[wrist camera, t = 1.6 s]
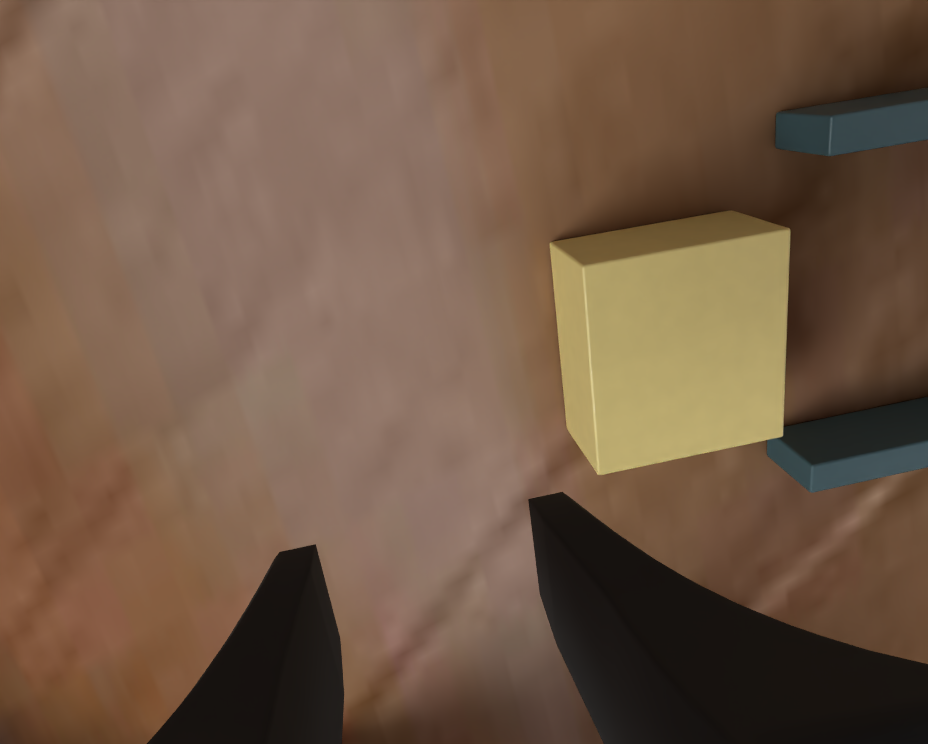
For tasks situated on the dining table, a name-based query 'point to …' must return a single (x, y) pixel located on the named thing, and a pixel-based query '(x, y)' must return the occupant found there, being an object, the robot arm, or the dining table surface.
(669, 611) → the robot arm
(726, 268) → the block
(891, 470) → the bay
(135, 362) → the dining table surface
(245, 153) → the dining table surface
